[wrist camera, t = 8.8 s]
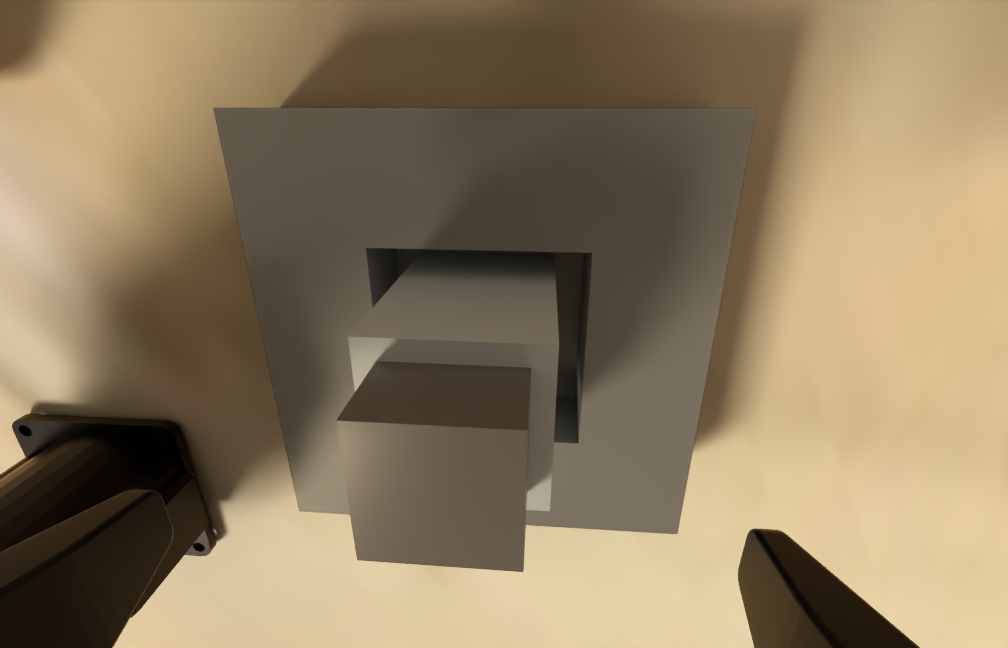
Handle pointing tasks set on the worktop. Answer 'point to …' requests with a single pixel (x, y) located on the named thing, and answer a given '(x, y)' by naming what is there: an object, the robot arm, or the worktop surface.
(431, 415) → the plug
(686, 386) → the socket plate
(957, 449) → the worktop surface
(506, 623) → the worktop surface
